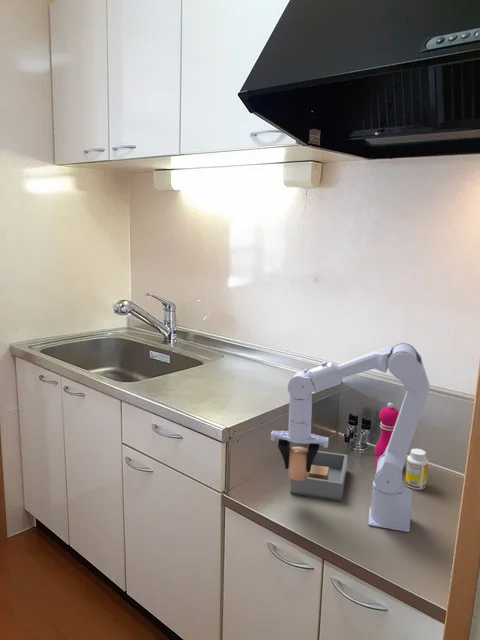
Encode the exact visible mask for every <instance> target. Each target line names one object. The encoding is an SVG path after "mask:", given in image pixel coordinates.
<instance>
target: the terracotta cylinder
mask: <svg viewBox="0 0 480 640" xmlns="http://www.w3.org/2000/svg"><path fill="white" fill-rule="evenodd" d="M307 466H308V448H306V447H303V446H292V447H290V449H289V463H288V469H287V471H288V472H287V477H288V478H289V479H290V480H291V479H292V480H296V481H303V480H305V479H307V477H308V472H307Z"/></svg>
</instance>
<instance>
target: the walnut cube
mask: <svg viewBox="0 0 480 640" xmlns="http://www.w3.org/2000/svg"><path fill="white" fill-rule="evenodd" d="M328 475H329V467H325V466H318V465H311V470H310V472H308V477H310V478H317V479H323V480H328Z"/></svg>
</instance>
